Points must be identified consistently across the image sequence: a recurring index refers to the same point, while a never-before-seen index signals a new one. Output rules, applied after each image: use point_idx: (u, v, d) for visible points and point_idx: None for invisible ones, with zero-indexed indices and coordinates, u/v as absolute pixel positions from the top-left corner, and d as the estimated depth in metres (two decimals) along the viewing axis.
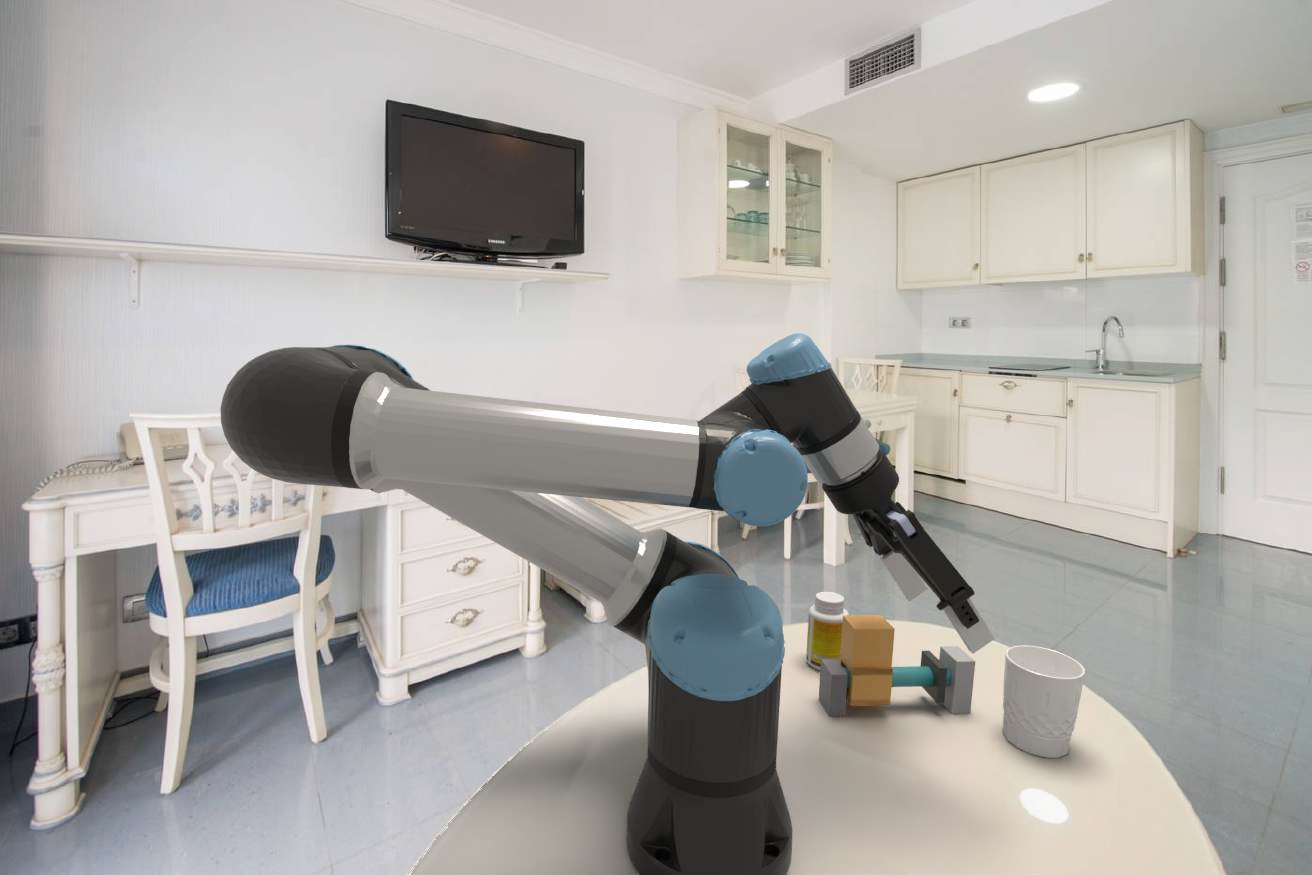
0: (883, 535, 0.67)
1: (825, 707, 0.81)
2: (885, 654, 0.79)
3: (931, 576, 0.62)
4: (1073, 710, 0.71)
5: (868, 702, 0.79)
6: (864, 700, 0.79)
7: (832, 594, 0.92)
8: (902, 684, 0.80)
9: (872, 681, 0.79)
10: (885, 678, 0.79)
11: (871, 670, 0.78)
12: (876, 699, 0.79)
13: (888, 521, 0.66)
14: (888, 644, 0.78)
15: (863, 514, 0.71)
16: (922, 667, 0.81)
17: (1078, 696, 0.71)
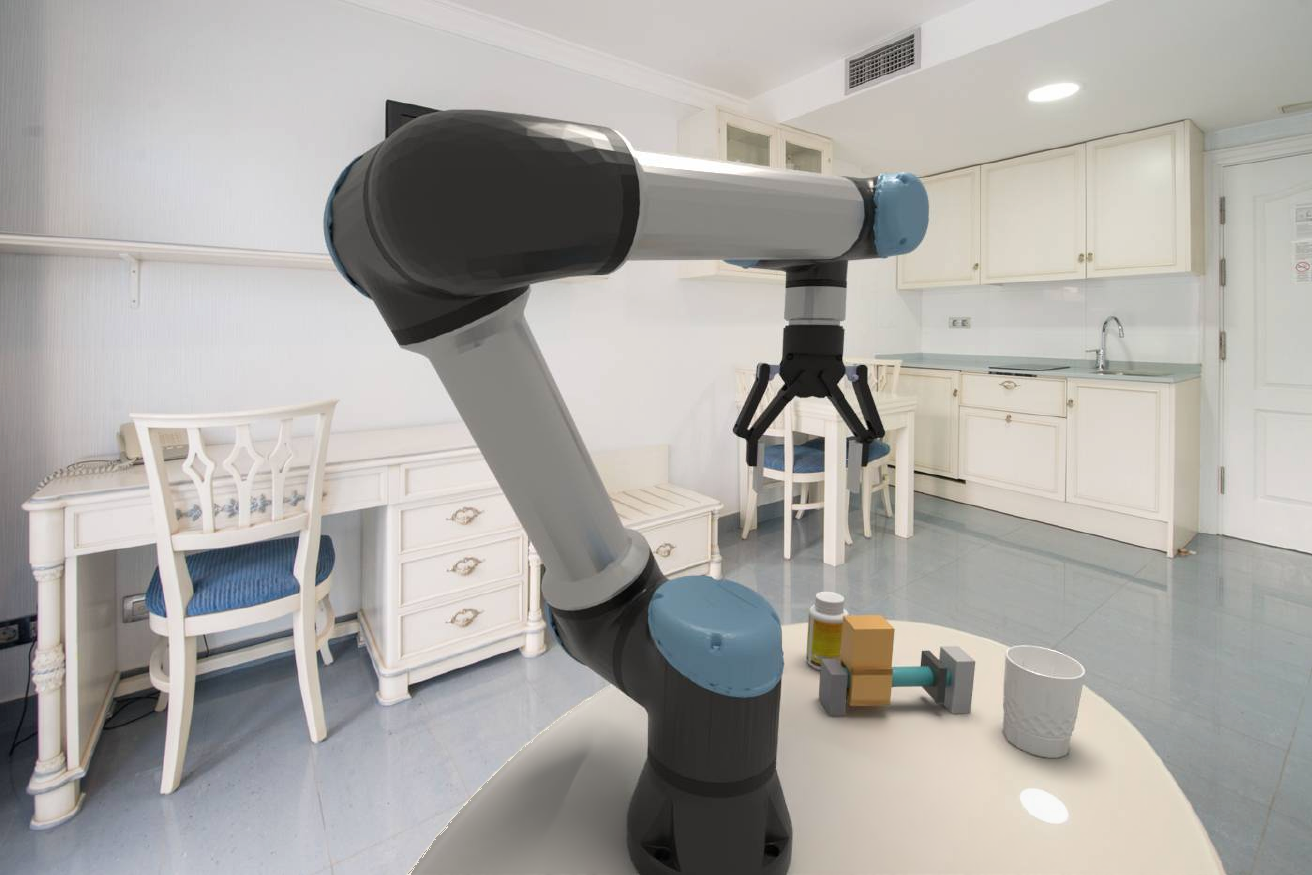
0: (836, 383, 0.80)
1: (825, 707, 0.81)
2: (885, 654, 0.79)
3: None
4: (1073, 710, 0.71)
5: (868, 702, 0.79)
6: (864, 700, 0.79)
7: (832, 594, 0.92)
8: (902, 684, 0.80)
9: (872, 681, 0.79)
10: (885, 678, 0.79)
11: (871, 670, 0.78)
12: (876, 699, 0.79)
13: (845, 369, 0.81)
14: (888, 644, 0.78)
15: (806, 371, 0.80)
16: (922, 667, 0.81)
17: (1078, 696, 0.71)
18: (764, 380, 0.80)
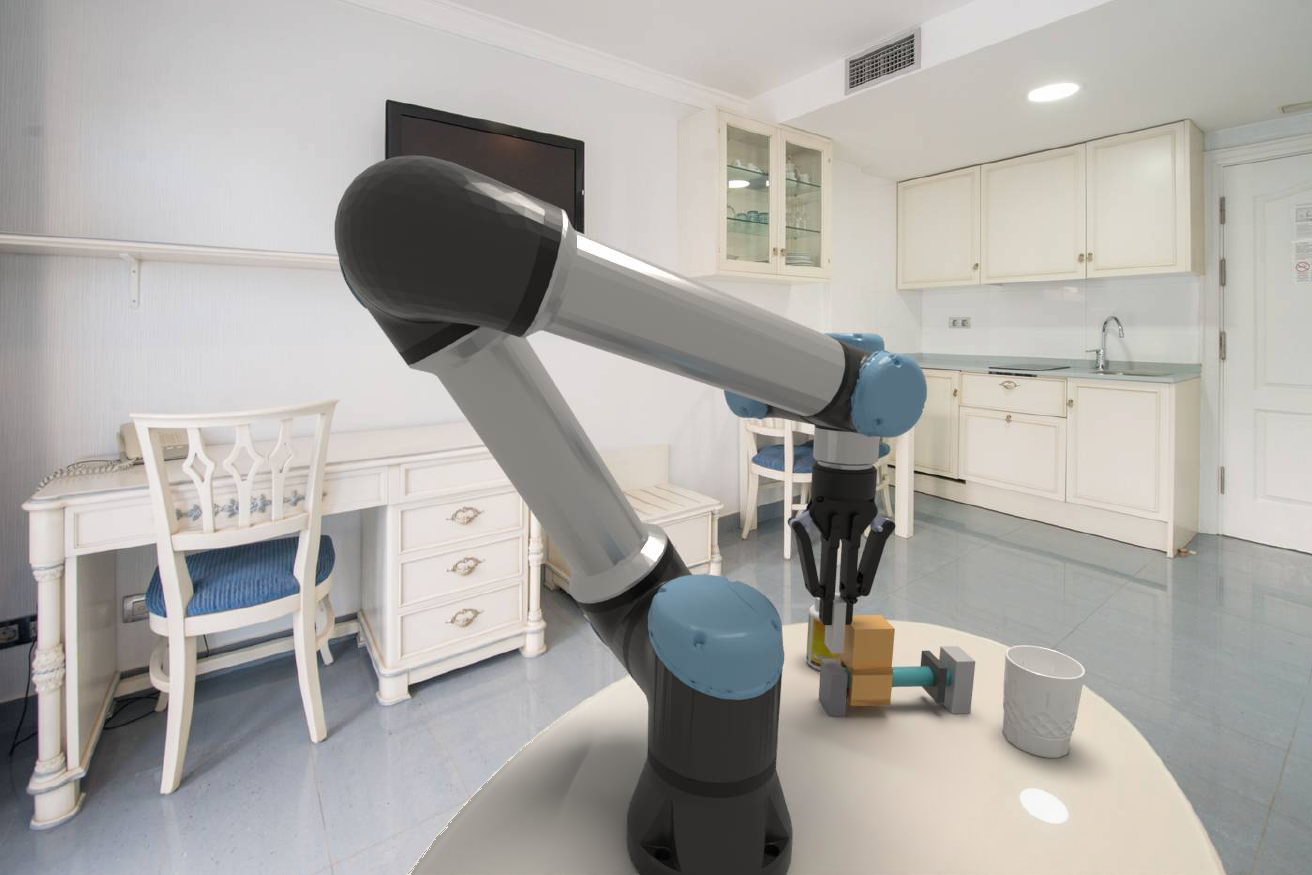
0: (860, 531, 0.76)
1: (825, 707, 0.81)
2: (885, 654, 0.79)
3: (876, 570, 0.78)
4: (1073, 710, 0.71)
5: (868, 702, 0.79)
6: (864, 700, 0.79)
7: None
8: (902, 684, 0.80)
9: (872, 681, 0.79)
10: (885, 678, 0.79)
11: (871, 670, 0.78)
12: (877, 699, 0.79)
13: (876, 515, 0.77)
14: (888, 644, 0.78)
15: (834, 513, 0.76)
16: (922, 667, 0.81)
17: (1078, 696, 0.71)
18: (804, 537, 0.76)
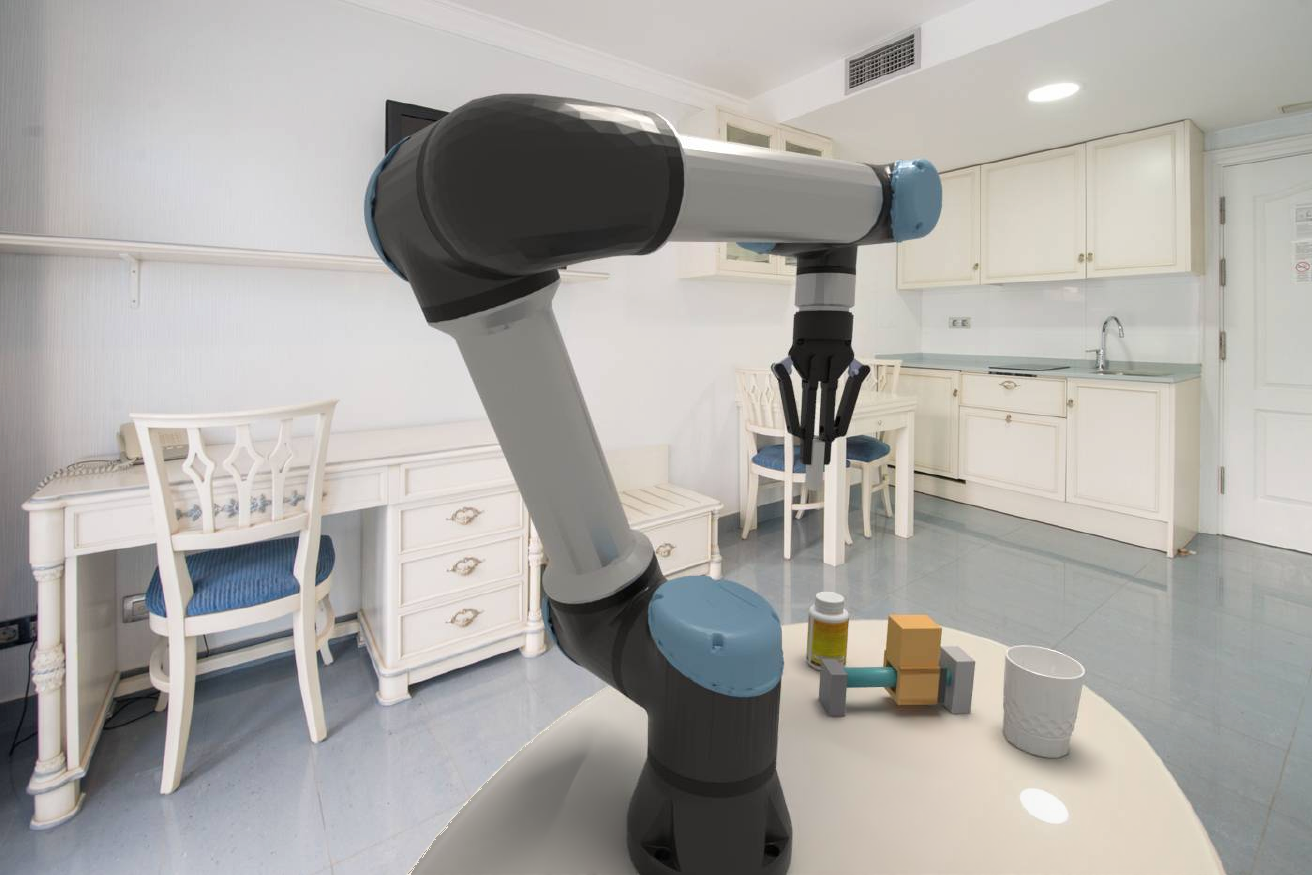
0: (838, 373, 0.83)
1: (825, 707, 0.81)
2: (932, 653, 0.79)
3: (852, 411, 0.84)
4: (1073, 710, 0.71)
5: (915, 701, 0.79)
6: (911, 699, 0.79)
7: (832, 594, 0.92)
8: None
9: (919, 680, 0.79)
10: (932, 677, 0.79)
11: (918, 669, 0.79)
12: (923, 698, 0.79)
13: (852, 360, 0.83)
14: (935, 643, 0.79)
15: (813, 355, 0.82)
16: None
17: (1078, 696, 0.71)
18: (786, 378, 0.83)
